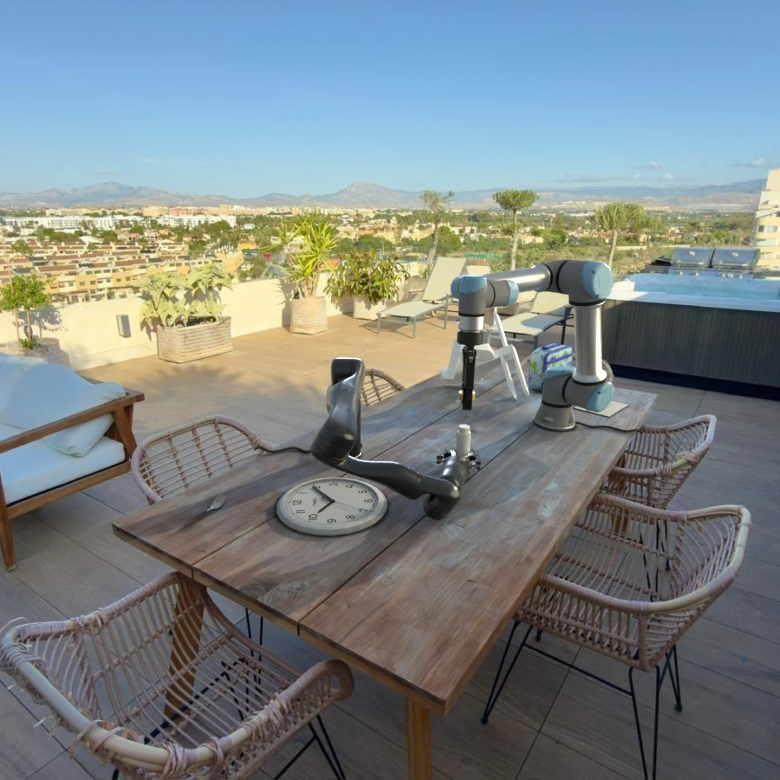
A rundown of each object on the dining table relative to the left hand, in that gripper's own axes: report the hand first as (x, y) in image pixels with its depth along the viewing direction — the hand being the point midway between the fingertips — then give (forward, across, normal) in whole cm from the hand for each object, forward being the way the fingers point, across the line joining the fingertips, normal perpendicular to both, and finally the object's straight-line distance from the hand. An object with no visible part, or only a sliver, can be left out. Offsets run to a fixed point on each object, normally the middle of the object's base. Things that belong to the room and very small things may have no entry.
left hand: (463, 450), depth 164 cm
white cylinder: (-3, 0, +6) cm, 7 cm away
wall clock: (-34, +30, +6) cm, 46 cm away
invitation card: (+81, -46, +6) cm, 93 cm away
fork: (-50, +59, +6) cm, 78 cm away
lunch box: (+102, -24, +6) cm, 105 cm away
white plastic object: (+83, +7, +6) cm, 83 cm away
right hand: (-3, 0, -15) cm, 16 cm away
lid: (-3, 0, -19) cm, 20 cm away
